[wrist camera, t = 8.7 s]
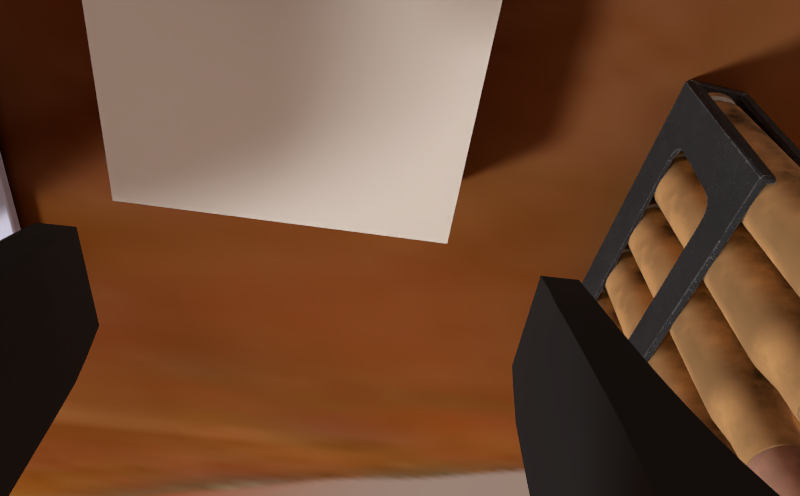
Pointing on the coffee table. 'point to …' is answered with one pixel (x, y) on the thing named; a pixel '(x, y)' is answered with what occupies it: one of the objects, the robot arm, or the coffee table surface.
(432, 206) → the white rectangular slab
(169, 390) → the coffee table surface
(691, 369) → the ammunition clip
